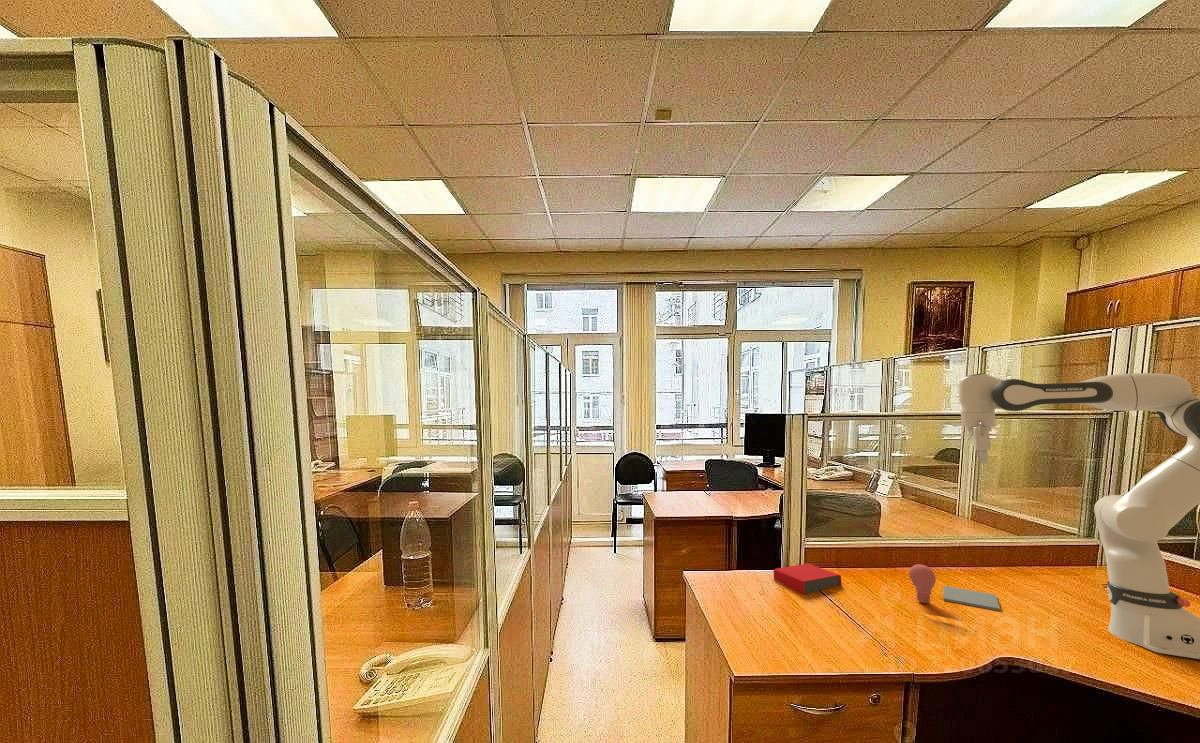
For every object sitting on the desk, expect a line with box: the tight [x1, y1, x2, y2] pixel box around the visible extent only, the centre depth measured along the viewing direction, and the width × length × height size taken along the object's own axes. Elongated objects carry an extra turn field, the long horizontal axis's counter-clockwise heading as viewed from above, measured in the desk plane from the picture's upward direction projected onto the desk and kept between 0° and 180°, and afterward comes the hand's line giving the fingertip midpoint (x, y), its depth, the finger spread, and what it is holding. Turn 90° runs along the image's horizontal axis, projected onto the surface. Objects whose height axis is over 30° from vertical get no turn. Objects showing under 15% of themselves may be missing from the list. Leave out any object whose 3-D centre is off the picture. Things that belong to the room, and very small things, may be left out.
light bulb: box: [908, 563, 937, 604], centre depth 145 cm, size 7×7×12 cm
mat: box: [942, 585, 1001, 612], centre depth 147 cm, size 14×14×1 cm
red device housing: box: [773, 562, 842, 596], centre depth 161 cm, size 18×14×5 cm
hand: (983, 462), depth 148 cm, fingers open, 8 cm apart
